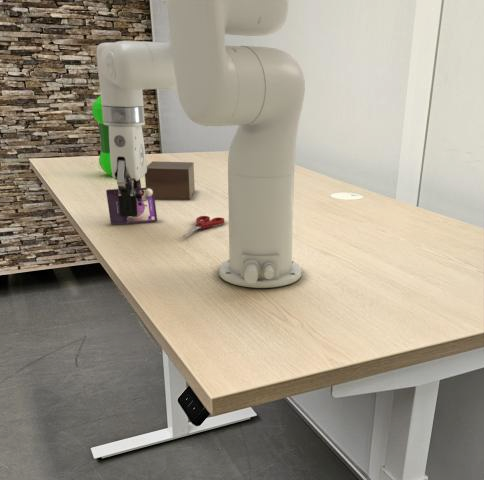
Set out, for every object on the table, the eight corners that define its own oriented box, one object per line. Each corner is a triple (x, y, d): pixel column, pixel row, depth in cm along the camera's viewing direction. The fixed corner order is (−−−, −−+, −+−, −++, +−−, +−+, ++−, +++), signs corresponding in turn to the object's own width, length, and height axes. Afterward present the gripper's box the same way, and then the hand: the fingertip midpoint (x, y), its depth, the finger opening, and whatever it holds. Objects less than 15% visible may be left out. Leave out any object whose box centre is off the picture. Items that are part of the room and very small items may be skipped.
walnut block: (189, 199, 134) (188, 169, 131) (146, 198, 134) (144, 168, 131) (194, 191, 143) (193, 162, 140) (154, 190, 143) (152, 161, 140)
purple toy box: (106, 189, 110) (153, 186, 114) (104, 193, 115) (149, 190, 119) (111, 224, 111) (158, 221, 115) (108, 226, 116) (153, 223, 119)
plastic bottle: (141, 177, 157) (133, 78, 147) (100, 179, 153) (89, 77, 143) (136, 171, 165) (128, 76, 155) (97, 172, 162) (87, 75, 151)
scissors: (226, 222, 116) (225, 217, 116) (197, 240, 104) (197, 234, 104) (201, 219, 117) (201, 214, 117) (170, 237, 105) (169, 231, 105)
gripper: (134, 121, 100) (142, 224, 107) (152, 113, 115) (158, 203, 123) (90, 119, 99) (102, 223, 107) (114, 112, 115) (122, 202, 122)
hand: (131, 211), depth 115 cm, fingers closed on purple toy box, 4 cm apart
